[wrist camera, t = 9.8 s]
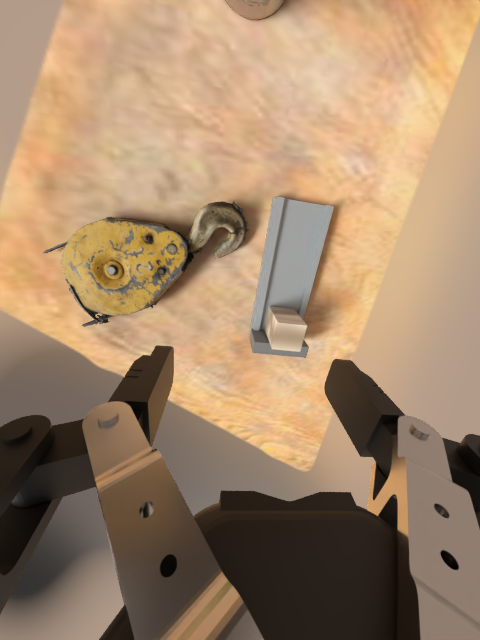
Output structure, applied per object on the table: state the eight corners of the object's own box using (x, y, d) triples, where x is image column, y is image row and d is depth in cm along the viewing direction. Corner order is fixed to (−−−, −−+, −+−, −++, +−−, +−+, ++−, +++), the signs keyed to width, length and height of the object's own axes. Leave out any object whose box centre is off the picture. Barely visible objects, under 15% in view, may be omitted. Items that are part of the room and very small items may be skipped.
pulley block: (265, 272, 31) (72, 338, 33) (260, 270, 37) (96, 327, 39) (231, 161, 28) (19, 243, 30) (232, 178, 33) (54, 246, 35)
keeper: (269, 306, 38) (277, 322, 32) (293, 309, 39) (307, 325, 32) (264, 329, 40) (271, 349, 33) (288, 331, 40) (300, 351, 34)
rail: (272, 197, 33) (282, 191, 27) (330, 207, 34) (351, 203, 28) (248, 335, 42) (252, 352, 36) (295, 340, 43) (305, 357, 37)
